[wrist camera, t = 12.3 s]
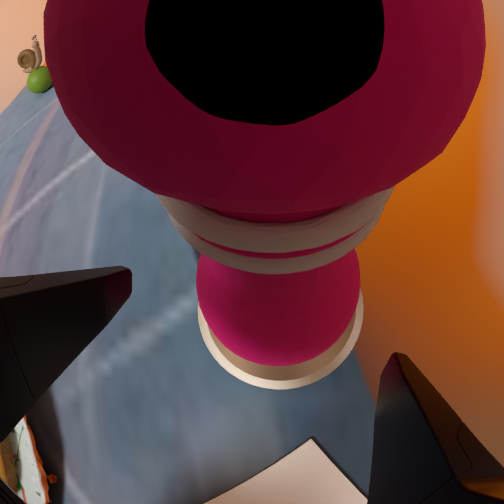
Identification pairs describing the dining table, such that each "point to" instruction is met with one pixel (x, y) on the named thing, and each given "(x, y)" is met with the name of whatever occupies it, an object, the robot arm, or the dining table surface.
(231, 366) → the round bowl
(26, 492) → the food on plate
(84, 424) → the dining table surface
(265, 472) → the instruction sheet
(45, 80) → the snail figurine
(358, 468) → the dining table surface
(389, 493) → the robot arm
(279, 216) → the pepper mill
